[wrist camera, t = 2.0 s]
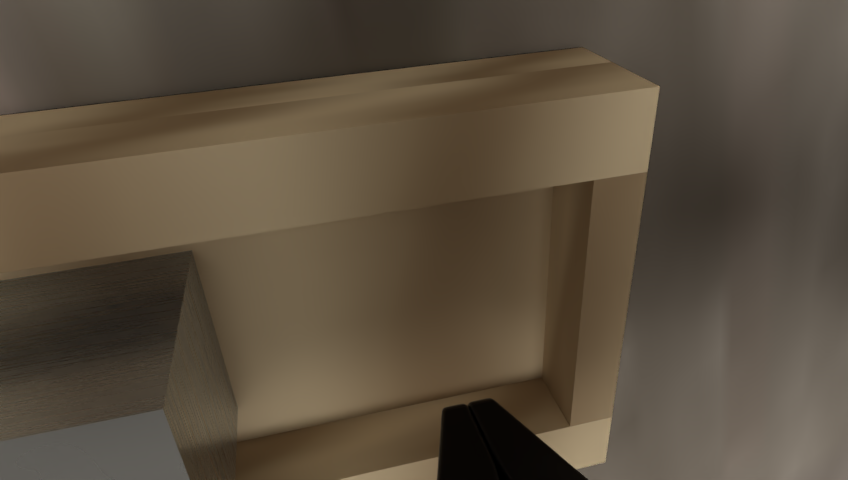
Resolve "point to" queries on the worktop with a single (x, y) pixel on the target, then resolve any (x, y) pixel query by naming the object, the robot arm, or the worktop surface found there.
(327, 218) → the wooden tray
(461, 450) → the robot arm
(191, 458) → the grey cube
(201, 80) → the worktop surface
